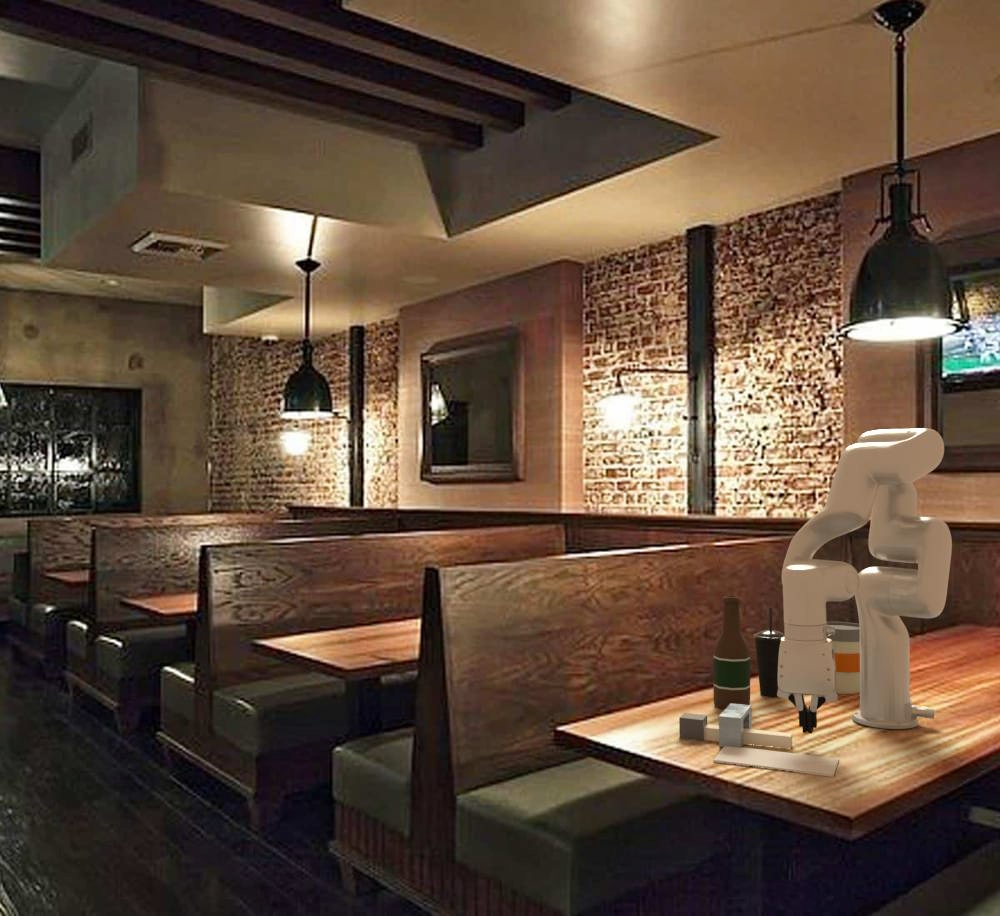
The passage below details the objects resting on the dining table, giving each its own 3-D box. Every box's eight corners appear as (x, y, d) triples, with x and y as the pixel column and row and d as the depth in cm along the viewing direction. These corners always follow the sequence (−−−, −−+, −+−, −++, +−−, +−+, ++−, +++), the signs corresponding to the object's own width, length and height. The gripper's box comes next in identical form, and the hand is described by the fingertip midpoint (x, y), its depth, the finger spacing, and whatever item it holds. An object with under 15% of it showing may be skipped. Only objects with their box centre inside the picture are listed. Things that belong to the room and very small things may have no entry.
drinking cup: (749, 691, 224) (748, 605, 224) (781, 691, 224) (780, 605, 225) (760, 699, 216) (760, 610, 216) (793, 698, 217) (793, 609, 217)
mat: (838, 760, 169) (838, 758, 169) (833, 777, 160) (833, 774, 160) (725, 747, 178) (725, 745, 178) (713, 762, 169) (713, 759, 169)
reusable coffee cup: (852, 698, 217) (851, 631, 217) (802, 688, 227) (802, 625, 227) (879, 689, 226) (878, 625, 226) (830, 681, 235) (830, 619, 235)
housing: (751, 735, 186) (751, 705, 186) (740, 750, 176) (740, 718, 176) (730, 732, 188) (730, 703, 188) (719, 747, 178) (718, 716, 178)
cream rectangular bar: (792, 745, 179) (792, 723, 179) (790, 751, 176) (789, 729, 176) (684, 733, 188) (684, 712, 188) (679, 738, 184) (679, 717, 184)
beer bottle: (751, 712, 204) (750, 599, 205) (713, 710, 206) (713, 598, 206) (749, 703, 212) (748, 594, 212) (713, 701, 214) (712, 593, 214)
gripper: (849, 630, 178) (852, 729, 178) (767, 626, 184) (770, 721, 184) (846, 638, 171) (849, 741, 171) (760, 634, 177) (763, 733, 177)
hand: (808, 730), depth 177 cm, fingers closed
